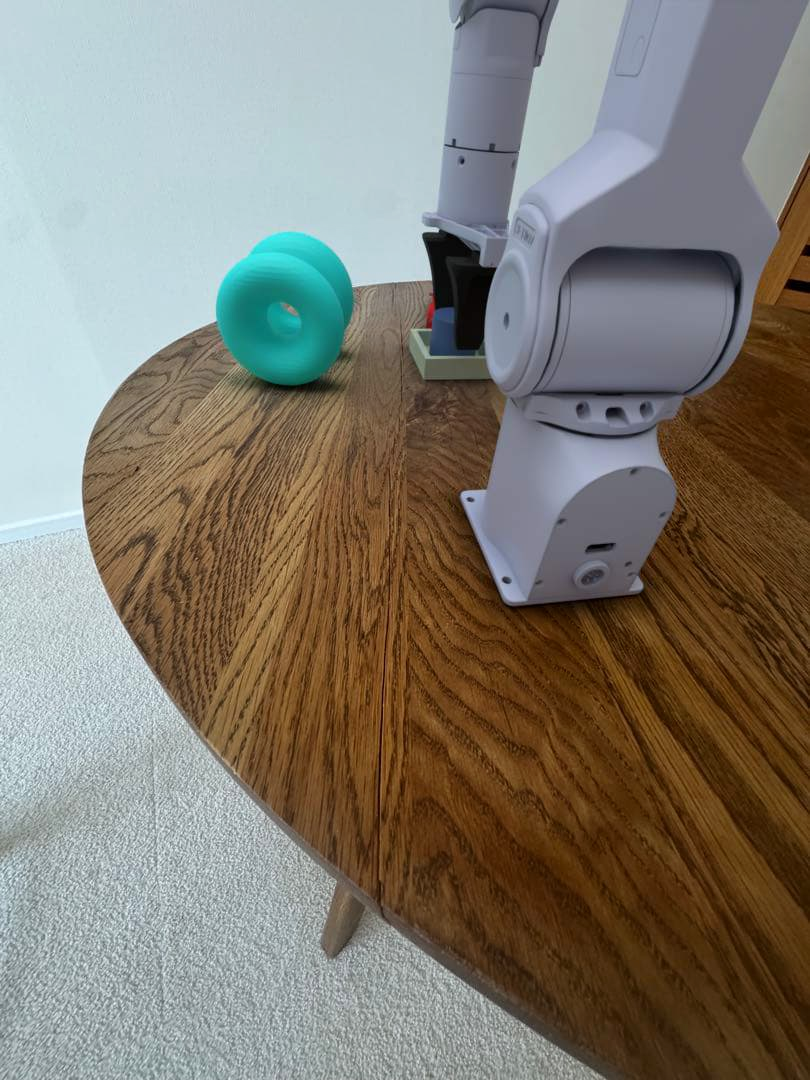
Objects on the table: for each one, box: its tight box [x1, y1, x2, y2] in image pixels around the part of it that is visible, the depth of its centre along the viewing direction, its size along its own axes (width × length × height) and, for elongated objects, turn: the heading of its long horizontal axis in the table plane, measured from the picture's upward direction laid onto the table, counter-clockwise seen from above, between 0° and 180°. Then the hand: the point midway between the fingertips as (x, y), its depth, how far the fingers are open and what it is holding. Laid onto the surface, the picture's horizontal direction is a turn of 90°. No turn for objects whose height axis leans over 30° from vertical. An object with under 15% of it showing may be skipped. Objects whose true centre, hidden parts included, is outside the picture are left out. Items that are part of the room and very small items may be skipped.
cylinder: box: [429, 307, 476, 356], centre depth 47 cm, size 4×4×4 cm
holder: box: [408, 328, 493, 381], centre depth 48 cm, size 7×7×2 cm
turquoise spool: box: [215, 231, 355, 386], centre depth 42 cm, size 10×10×10 cm
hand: (456, 332), depth 47 cm, fingers open, 7 cm apart
